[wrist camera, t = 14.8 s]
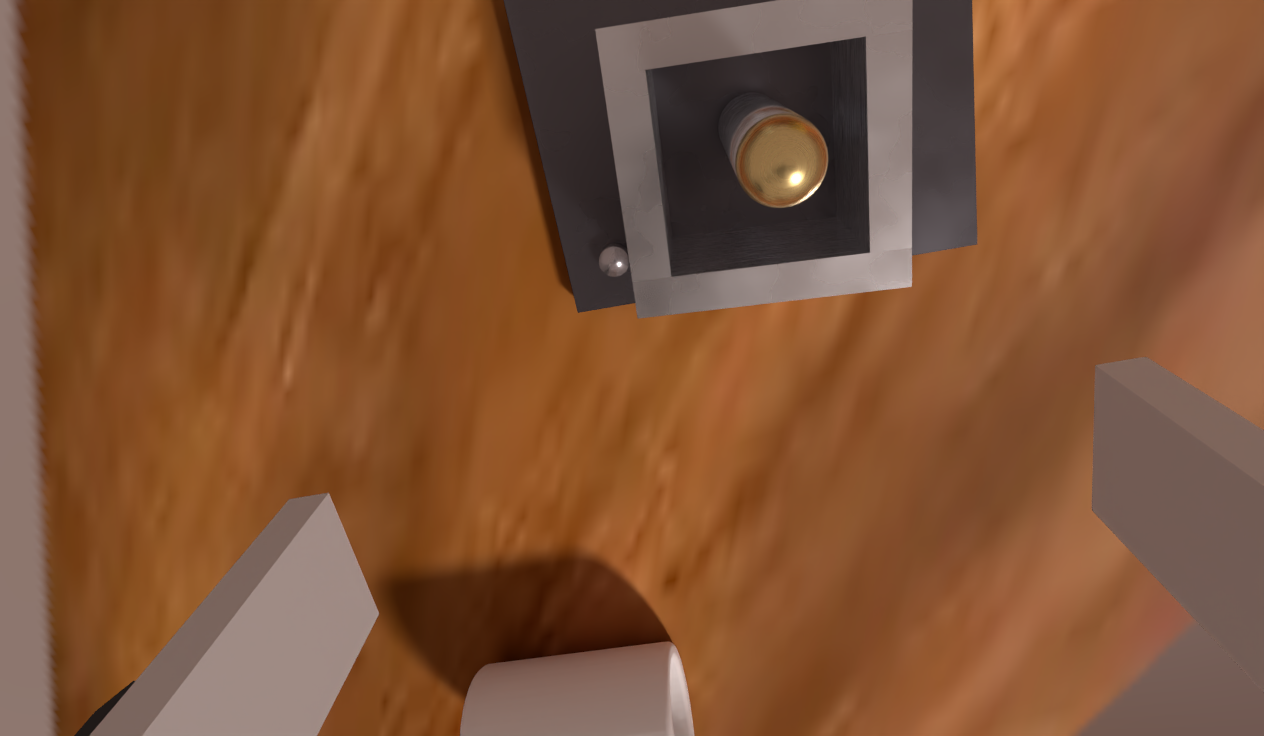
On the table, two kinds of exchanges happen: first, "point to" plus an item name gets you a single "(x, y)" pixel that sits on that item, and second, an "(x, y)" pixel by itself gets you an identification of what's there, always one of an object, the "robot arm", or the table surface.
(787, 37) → the link
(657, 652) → the mug
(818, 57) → the keeper
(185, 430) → the table surface
